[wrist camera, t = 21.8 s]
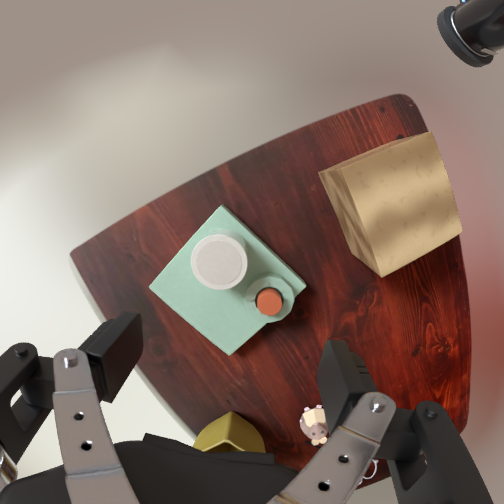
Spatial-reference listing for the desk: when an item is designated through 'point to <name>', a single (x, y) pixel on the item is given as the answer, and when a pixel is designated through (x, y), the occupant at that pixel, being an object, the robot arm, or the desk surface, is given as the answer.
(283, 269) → the scale
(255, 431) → the flower pot
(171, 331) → the desk surface
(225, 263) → the ramekin
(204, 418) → the desk surface
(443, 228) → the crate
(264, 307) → the button
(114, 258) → the desk surface
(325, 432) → the mouse figurine
